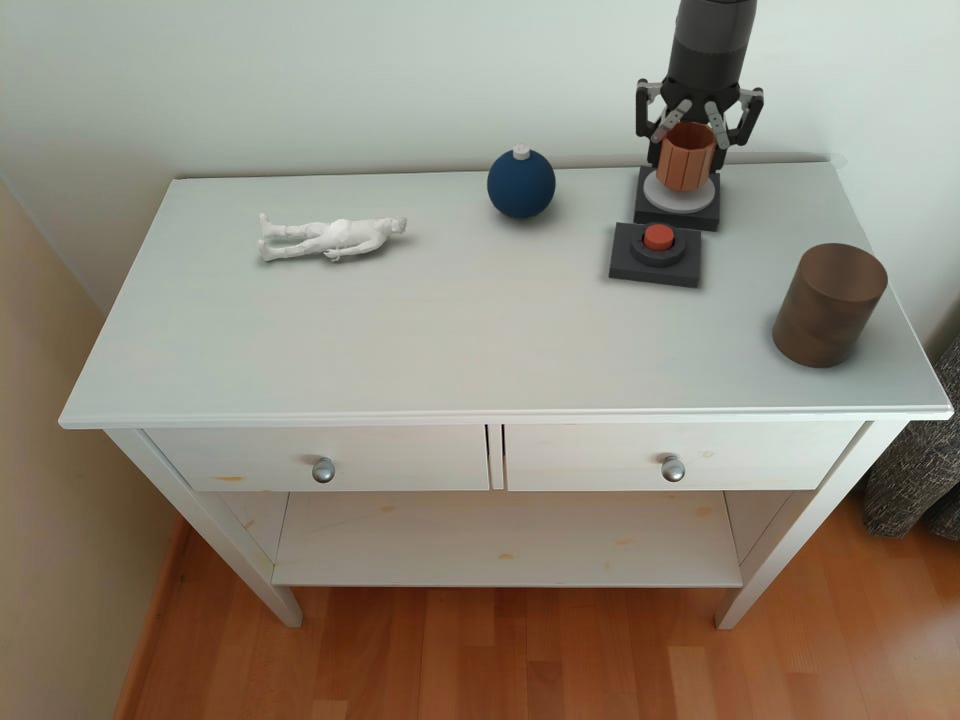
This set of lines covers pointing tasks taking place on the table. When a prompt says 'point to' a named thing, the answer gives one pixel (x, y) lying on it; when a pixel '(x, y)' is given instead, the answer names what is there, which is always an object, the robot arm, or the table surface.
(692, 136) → the orange wooden cup
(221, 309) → the table surface
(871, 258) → the stand
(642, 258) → the red push button box
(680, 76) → the robot arm
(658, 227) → the button
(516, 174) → the christmas ornament
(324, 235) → the figurine
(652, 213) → the scale
